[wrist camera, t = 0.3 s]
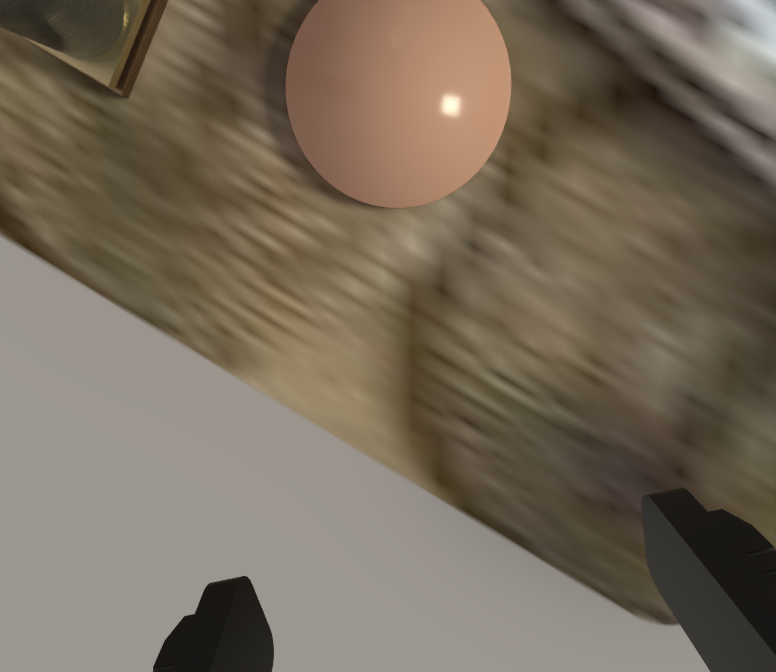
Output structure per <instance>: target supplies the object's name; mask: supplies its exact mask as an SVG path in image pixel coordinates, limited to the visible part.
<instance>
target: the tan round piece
mask: <svg viewBox="0 0 776 672" xmlns="http://www.w3.org/2000/svg"><path fill="white" fill-rule="evenodd" d="M510 97H511V70H510V64H509V58H508V53H507V49H506V46H505V43H504V40H503V37H502V35H501V32H500V30H499V28H498V26H497V24H496V22H495V20H494V19H493V17H492V15H491V14H490V12H489V11H488V9H487V8H486V7H485V6H484V4H483V3H482V2H481V1H480V0H319V1H318V2H317V3H316V4H315V5H314V6H313V8H312V9H311V10H310V12H309V13H308V15H307V16H306V18H305V19H304V21H303V23H302V25H301V27H300V29H299V31H298V33H297V35H296V37H295V40H294V43H293V46H292V48H291V51H290V56H289V61H288V65H287V73H286V102H287V109H288V115H289V119H290V122H291V126H292V129H293V132H294V134H295V137H296V139H297V142H298V144H299V146H300V147H301V149H302V151H303V153H304V155H305V156H306V158H307V159H308V161H309V162H310V163H311V165H312V166H313V167H314V169H315V170H316V171H317V172H318V173H319V174H320V175H321V176H322V177H323V178H324V179H325V180H326V181H327V182H329V183H330V184H331V185H332V186H334V187H335V188H336V189H338V190H339V191H341V192H343V193H344V194H346V195H347V196H350V197H352V198H354V199H356V200H358V201H361V202H364V203H367V204H371V205H374V206H381V207H387V208H405V207H414V206H419V205H423V204H427V203H430V202H433V201H435V200H438V199H440V198H443V197H445V196H446V195H448V194H450V193H452V192H453V191H455V190H457V189H458V188H459V187H461V186H462V185H463V184H465V183H466V182H467V181H468V180H469V179H470V178H472V177H473V176H474V175H475V174H476V173H477V172H478V171H479V169H480V168H481V167H482V166H483V164H484V163H485V162H486V161H487V159H488V158H489V156H490V155H491V153H492V151H493V150H494V148H495V147H496V145H497V142H498V140H499V138H500V136H501V134H502V131H503V128H504V125H505V122H506V119H507V115H508V110H509V105H510Z"/></svg>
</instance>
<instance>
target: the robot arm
mask: <svg viewBox="0 0 776 672" xmlns="http://www.w3.org/2000/svg"><path fill="white" fill-rule="evenodd" d="M641 506H642V517H643V528H644V539H645V551H646V559H647V564H648V567H649V571H650V573H651V576H652V579H653V581H654V583H655V585H656V587H657V589H658V591H659V592H660V594H661V596H662V597H663V599H664V600H665V602H666V603H667V605H668V606H669V608H670V610H671V611H672V613H673V614H674V616H675V617H676V619H677V620H678V622H679V623H680V625H681V627H682V628H683V630H684V631H685V633H686V634H687V636H688V637H689V639H690V641H691V642H692V644H693V645H694V647H695V648H696V650H697V651H698V653H699V654H700V656H701V658H702V659H703V661H704V662H705V664H706V665H707V667H708V668H709V670H710V672H776V550H775V548H774V546H773V545H772V544H771V543H770V542H769V541H768V540H767V539H766V538H765V537H764V536H763V535H762V534H761V533H759V532H758V531H757V530H756V529H755V528H754V527H753V526H752V525H751V524H749V523H747V522H745V521H743V520H742V519H740V518H738V517H736V516H734V515H732V514H730V513H729V512H727V511H725V510H723V509H720V510H715V511H710V512H707V511H706V510H705V508H704V507H703V506H702V505H701V504H700V503H699V502H698V501H697V500H696V499H695V498H694V497H693V495H692V494H691V493H690V492H689V491H688V490H686V489H684V488H678V489H673V490H668V491H663V492H658V493H653V494H648V495H644V496H643V497H642V501H641ZM273 659H274V646H273V638H272V633H271V630H270V627H269V625H268V622H267V620H266V617H265V615H264V612H263V610H262V607H261V605H260V602H259V600H258V598H257V595H256V593H255V590H254V588H253V585H252V583H251V581H250V579H249V578H248V577H246V576H242V577H237V578H232V579H227V580H222V581H218V582H213V583H210V584H208V585H207V586H206V588H205V590H204V592H203V594H202V597H201V600H200V602H199V605H198V608H197V610H196V612H195V614H193V615H188V616H184V617H183V619H182V620H181V621H180V622H179V624H178V625H177V626H176V627H175V629H174V630H173V631H172V632H171V634H170V635H169V636H168V637H167V639H166V640H165V641H164V644H163V646H162V648H161V650H160V653H159V655H158V657H157V660H156V662H155V664H154V666H153V672H272V667H273Z"/></svg>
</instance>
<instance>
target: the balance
mask: <svg viewBox="0 0 776 672" xmlns="http://www.w3.org/2000/svg"><path fill="white" fill-rule="evenodd" d="M167 1H168V0H123V3H124V24H123V28H122V31H121V34H120V36H119V38H118V40H117V42H116V43H115V44H114V46H113V47H112V48H111V49H110V50H109V51H107V52H106V53H104V54H103V55H100V56H98V57H95V58H91V59H79V58H74V57H71V56H68V55H66V54H63V53H61V52H58V51H56V50H54V49H51V48H49V47H47V46H44V45H42V44H40V43H37V42H35V41H32V40H30V39H28V38H25V37H23V36H21V37H22V38H23V39H25V40H27V41H29V42H30V43H32V44H34V45H35V46H37V47H39V48H41V49H42V50H44V51H46V52H47V53H49V54H51V55H53V56H54V57H56V58H58V59H59V60H61V61H63V62H65V63H66V64H68V65H70V66H71V67H73V68H75V69H77V70H78V71H80V72H82V73H83V74H85V75H87V76H89V77H90V78H92V79H94V80H95V81H97V82H99V83H101V84H102V85H104V86H106V87H107V88H109V89H111V90H113V91H114V92H116V93H118V94H120V95H121V96H124V97H126V98H128V97H129V95H130V92H131V90H132V87H133V85H134V82H135V80H136V78H137V75H138V73H139V70H140V68H141V65H142V63H143V60H144V58H145V55H146V53H147V50H148V48H149V45H150V43H151V41H152V38H153V36H154V33H155V31H156V28H157V26H158V23H159V21H160V18H161V16H162V13H163V11H164V8H165V6H166V3H167Z"/></svg>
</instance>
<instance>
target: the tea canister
mask: <svg viewBox="0 0 776 672" xmlns="http://www.w3.org/2000/svg"><path fill="white" fill-rule="evenodd" d="M123 24H124V3H123V0H0V27H2V28H4V29H6V30H9V31H11V32H13V33H16V34H18V35H21V36H23V37H25V38H28V39H30V40H32V41H35V42H37V43H40V44H42V45H44V46H47V47H49V48H51V49H54V50H56V51H58V52H61V53H63V54H66V55H68V56H71V57H74V58H79V59H91V58H95V57H98V56H100V55H103V54H104V53H106V52H107V51H109V50H110V49H111V48H112V47H113V46H114V44H115V43H116V42H117V40H118V38H119V36H120V34H121V31H122V28H123Z"/></svg>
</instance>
